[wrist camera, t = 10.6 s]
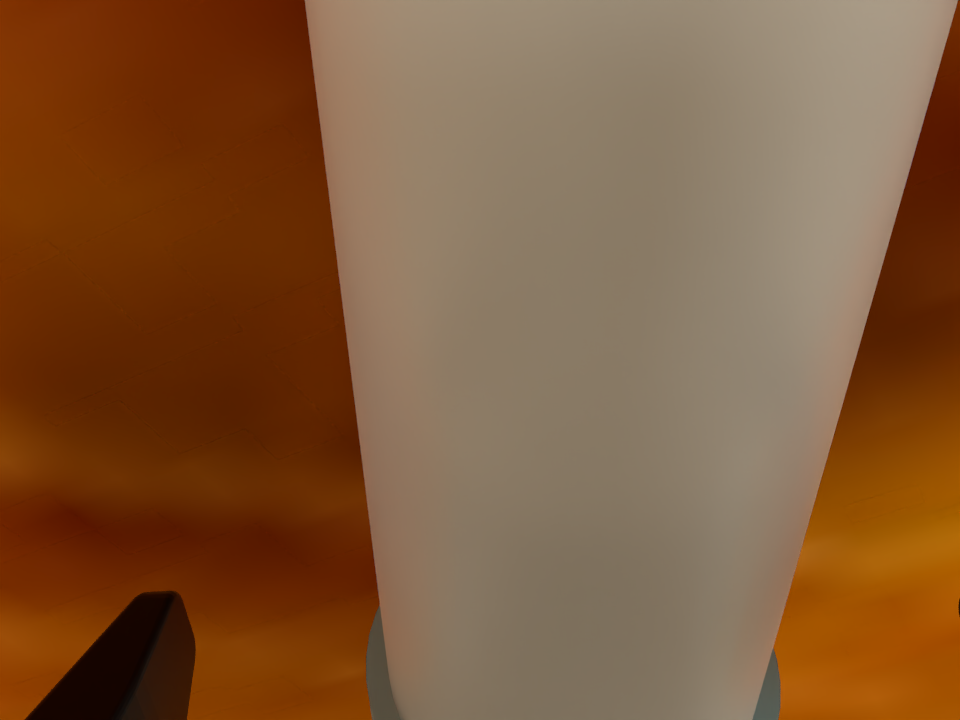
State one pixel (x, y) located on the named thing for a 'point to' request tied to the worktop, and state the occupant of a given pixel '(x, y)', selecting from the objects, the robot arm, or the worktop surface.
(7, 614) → the worktop surface
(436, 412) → the cylinder
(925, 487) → the worktop surface
